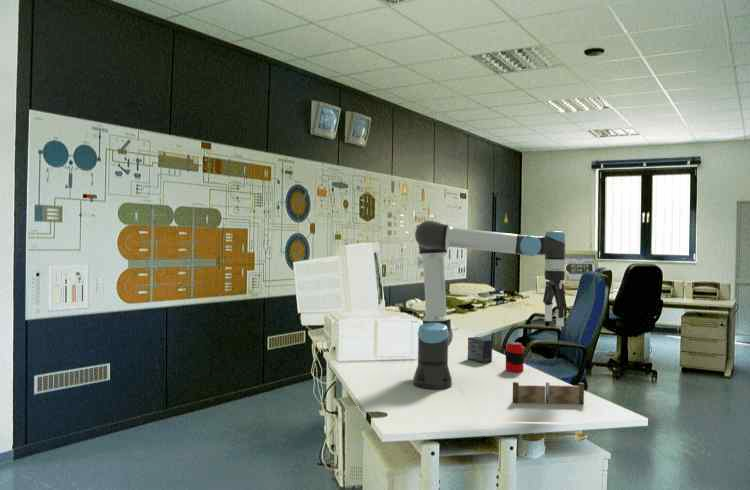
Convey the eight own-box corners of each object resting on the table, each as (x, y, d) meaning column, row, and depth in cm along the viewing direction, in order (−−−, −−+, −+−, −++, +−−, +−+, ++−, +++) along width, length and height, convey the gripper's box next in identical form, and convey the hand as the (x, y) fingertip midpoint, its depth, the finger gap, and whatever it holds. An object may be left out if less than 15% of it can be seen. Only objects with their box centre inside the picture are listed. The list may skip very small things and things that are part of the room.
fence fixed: (513, 403, 192) (513, 383, 192) (511, 401, 194) (512, 381, 194) (545, 404, 192) (545, 384, 191) (543, 402, 194) (544, 382, 193)
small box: (492, 361, 259) (493, 339, 259) (482, 363, 256) (483, 340, 255) (476, 357, 268) (477, 336, 268) (466, 359, 264) (467, 337, 264)
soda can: (507, 367, 247) (507, 341, 247) (524, 369, 245) (524, 342, 244) (504, 371, 240) (504, 344, 240) (522, 373, 238) (522, 345, 237)
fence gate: (546, 403, 192) (546, 383, 192) (544, 402, 193) (545, 382, 193) (584, 404, 191) (584, 384, 191) (582, 402, 193) (583, 382, 193)
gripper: (576, 272, 207) (575, 328, 207) (553, 268, 232) (552, 319, 232) (556, 271, 207) (555, 328, 207) (535, 268, 232) (535, 318, 232)
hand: (553, 323), depth 219 cm, fingers open, 13 cm apart
